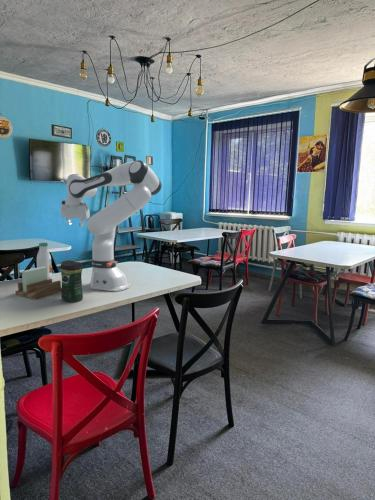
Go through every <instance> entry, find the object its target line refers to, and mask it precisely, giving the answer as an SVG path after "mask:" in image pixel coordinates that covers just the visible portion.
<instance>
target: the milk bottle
mask: <svg viewBox="0 0 375 500" xmlns="http://www.w3.org/2000/svg"><path fill="white" fill-rule="evenodd" d="M48 246H49V245H48V243H47V242H39V243H38V247H39V249H38V251H37V255H36V268H39V267H47V279H51V277H52V276H53V275H52V274H53V272H52V271H53V270H52V257H51V254H50V252H49V249H48Z"/></svg>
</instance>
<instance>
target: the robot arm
mask: <svg viewBox="0 0 375 500" xmlns="http://www.w3.org/2000/svg"><path fill="white" fill-rule="evenodd" d="M129 184H133V186H132V187H131V188H130V190H127V191H126V193H124V194H122V195H121V196H120V197H119V198H117V199H115V200H114V201H113V202H112V203H110V204H109V205H107V206H105V207H104V208H102V209H100V210H99V211H97V212H96V213H94V214H93V215H92V216H91V213H90V208H89V205H88V203H87V202H84V198H92V197H95V196H96V195H97V193H98V191H99V188H100V187H122V186H127V185H129ZM161 190H162V182H161V179H160V178H159V177H158V176H157V174H156V173H155V172H154V170H153V169H152V168H151V167H149V165H148V164H147V162H145V161H144V160H132V161H127V162H125V163H122V164H119V165H117V166H115V167H113V168H111V169H109V170H106V171H104V172H102V173H100V174H97V175H94V176H90V177H88V178H85V177H84V176H82V175H81V174H80V173H72V174H69V175H68V176H67V178H66V192H67V195H66V198H65V199H63V200H61V201H60V204H61V206H60V215H61V217H63V218H65V219H66V222H67V225H68V226H72V224H73V222H72V221H71V219H79V220H80V223H79V227H84V223H85V221H86V220H87V223H86V227H87V229H88V232H90V233H91V234H92V235H94V237H93V241H92V247H91V249H92V254H91V255H92V259H91V267H92V269H91V278H90V279H91V280H90V284H89V286H90V288H89V289H92V290H93V289H94V290H99V291H105V292H106V291H109V292H120V291H123V290H127V289H129V288H131V287H132V284H131V283H129V282H128V280H127V276H126V275H125V273H124V272H123V271H122V270H120V268H119V267H117V264H118V262H119V261H116V260H115V258H114V257H115V256H114V250H115V249H114V247H115V237H116V230H117V229H116V228H117V226H119V225H120V224H122V223H123V222H125V221H126V220H127V219H129V218H130V217H132V216H133V215H135V214H136V213H137V212H138V211H139V212H140V210H141V209H142V208H144V207H145V206H147V204H148V203H149V202H150V201H151V199H152V196H155V195H157V194H158V193H159V192H160V191H161Z"/></svg>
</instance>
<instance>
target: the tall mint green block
mask: <svg viewBox="0 0 375 500" xmlns="http://www.w3.org/2000/svg"><path fill="white" fill-rule="evenodd" d="M21 277H22V278H21V280H22V281H21V282H23V291H24V292H27V290H26V285H28V284H32V283H36V282H40V281H43V280H47V279H48V278H47V267H39V268H37V267H35V268H30V269H26V270H21Z"/></svg>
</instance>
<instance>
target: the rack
mask: <svg viewBox="0 0 375 500" xmlns="http://www.w3.org/2000/svg"><path fill="white" fill-rule="evenodd" d="M26 290H27V292H24V291H23V282H22V281H20V282H17V290H15V293H14V294H15V295H18V296H20V297H24V298H25V297H26V298H30V299H33V300H35V301H36V300H40V299H43V298H47V297H50V296H52V295H55V294H56V295H57V294H59V293H62V280H56V281H53V279H52V278H47V280H43V281H40V282H36V283H32V284H28V285H26Z"/></svg>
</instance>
